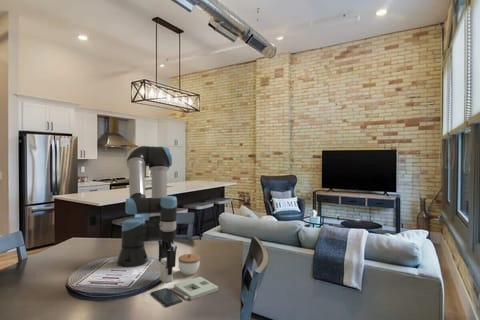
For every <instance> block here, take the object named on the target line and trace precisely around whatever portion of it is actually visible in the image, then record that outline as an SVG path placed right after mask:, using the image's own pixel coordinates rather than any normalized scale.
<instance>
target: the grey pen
mask: <svg viewBox="0 0 480 320" xmlns="http://www.w3.org/2000/svg"><path fill="white" fill-rule="evenodd" d="M166 288H167V289H168V290H170V291H171V292H172V293H173V294H175V295H178V296H180V297H182V298H184V299H185V300H188V299H189V297H188V296H185V295H184V294H182V293H181V292H179V291H178V290H176V289H175V288H174V289H173V288H172V287H171V286H168V287H166ZM189 300H190V299H189Z"/></svg>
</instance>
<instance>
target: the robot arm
mask: <svg viewBox="0 0 480 320" xmlns="http://www.w3.org/2000/svg"><path fill="white" fill-rule="evenodd" d="M172 165H173V156H172V151H171V149H170V148H169V147H166V146H148V145H141V146H138V147H136V148H134V149H133V150H132V151H131V152H130V153H129V155H128V157H127V160H126V167H127V168H128V180H129V181H128V182H129V186H128V187H129V198H126V199H125V213H126V214H127V215H143V214H144V215H146V214H148V219H146V218H145V217H144V216H138V217H137V216H136V217H135V216H134V217H131V218H128V219H125V220H124V221H123V222H122V225H121V246H120V247H121V248H120V251H119V254H118V257H117V265H118V266H120V267H127V268H128V267H139V266H142V265H144V264H146V263H147V262H148V255H147V252H146V248H145V243H146V242H156V241H157V242H158V262H160V264H161V259H162V258H166V257H167V267H166V283H169V282H172V281H173V271H172V267H173V268H176V260H177V259H176V256H177V248H178V246H177V245H174V244H175V243H174V239H176V238H177V237H176V236H177V230H176V229H177V213H178V212H177V211H178V209H177V208H178V207H177V206H178V199H177V197H176V196H174V195H168V183H167V182H168V181H167V179H168V174H167V172H168V171H169V170H170V167H172ZM145 167H148V170H149V171H150V172H151V197H147V196H146V195H147V194H146V184H145V173H144V172H145ZM146 197H147V198H146Z"/></svg>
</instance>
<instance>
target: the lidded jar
mask: <svg viewBox="0 0 480 320" xmlns="http://www.w3.org/2000/svg"><path fill="white" fill-rule="evenodd" d="M177 260H178V268H179V271H180V272H181V273H182V274H183V275H184V276H193V275H195V274H196V272H198V270H199V268H200V266H201V265H200V264H201V256H200V255H198V254H195V253H188V254H187V253H186V254H181V255H179V257H178V259H177Z"/></svg>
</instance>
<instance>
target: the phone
mask: <svg viewBox="0 0 480 320" xmlns="http://www.w3.org/2000/svg"><path fill="white" fill-rule="evenodd" d="M167 288H168V287H164V288H161V289H158V290H154V291H153V290H152V291H151V292H150V295H151V296H152V297H154V299H156V300H157V301H158V302H160V303H161V304H162V305H163V306H164V307H165V308H169V307H172V306H175V305H177V304H180V303H181V304H182V303H183V299H181V298H180V297H179V296H177V294H176V293H174V292H172V291H170V290H168V289H167Z"/></svg>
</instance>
